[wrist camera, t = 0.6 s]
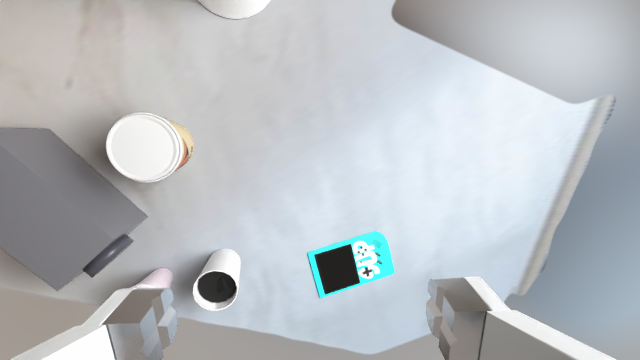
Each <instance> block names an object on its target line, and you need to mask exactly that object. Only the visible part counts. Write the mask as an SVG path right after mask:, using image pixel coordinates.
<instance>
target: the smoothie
mask: <svg viewBox="0 0 640 360" xmlns="http://www.w3.org/2000/svg"><path fill="white" fill-rule="evenodd" d="M172 281H173V274H172V273H171V271H170V270H168V269H166V268H158V269H156V270H155V271H153V272H152V273H151V274H150V275H148V276H147V277H146V278H144V279H143V280H142V281H141V282H139V283H138V284H137V285H135V286H132V287H130V288H170V286H171V283H172Z"/></svg>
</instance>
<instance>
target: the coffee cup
mask: <svg viewBox="0 0 640 360" xmlns="http://www.w3.org/2000/svg"><path fill="white" fill-rule="evenodd" d="M106 152H107V155H108V158H109V160H110V162H111V164H112V165H113V166H114V168H115V169H116V170H117V171H118V172H119V173H121V174H122V175H123V176H125V177H127V178H129V179H131V180H134V181H137V182H156V181H159V180H162V179H164V178H166V177H168V176H169V175H170V174H171V173H173V172H174V171H176V170H177V169H179V168H180V167H182V166H183V165H184V164H186V163H187V162H188V161H189V160H190V158H191V157H192V155H193V153H194V140H193V138H192V136H191V134H190V133H189V131H188V130H187V129H186V128H184V127H183V126H181V125H179V124H177V123H175V122H172V121H169V120H167V119H164V118H162V117H160V116H158V115H155V114H151V113H146V112H138V113H132V114H128V115H126V116H124V117H122V118H120V119H119V120H118V121H116V122H115V123H114V125H113V126H112V127H111V129H110V130H109V132H108V135H107V139H106Z"/></svg>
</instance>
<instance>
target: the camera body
mask: <svg viewBox="0 0 640 360" xmlns="http://www.w3.org/2000/svg"><path fill="white" fill-rule="evenodd" d="M147 217H148V216H147V215H146V214H145V213H143V212H142V211H141V210H140V209H139V208H138V207H137V206H136V205H134V204H133V203H132V202H131V201H130V200H129V199H128V198H127V197H125V196H124V195H123V194H122V193H121V192H120V191H119V190H117V189H116V188H115V187H114V186H113V185H112V184H111V183H110V182H108V181H107V180H106V179H105V178H104V177H103V176H102V175H101V174H99V173H98V172H97V171H96V170H95V169H94V168H93V167H91V166H90V165H89V164H88V163H87V162H86V161H85V160H84V159H82V158H81V157H80V156H79V155H78V154H77V153H76V152H75V151H73V150H72V149H71V148H70V147H69V146H68V145H67V144H65V143H64V142H63V141H62V140H61V139H60V138H59V137H58V136H56V135H55V134H54V133H53V132H52V131H51V130H50V129H31V128H0V248H1V249H2V250H4V251H5V252H6V253H8V254H9V255H10V256H12V257H13V258H14V259H16V260H17V261H18V262H20V263H21V264H22V265H24V266H25V267H26V268H28V269H29V270H30V271H32V272H33V273H34V274H36V275H37V276H38V277H39V278H41V279H42V280H43V281H45V282H46V283H47V284H49V285H50V286H51V287H53V288H54V289H55V290H57V291H58V290H60V289H61V288H62V287H64V286H65V285H66V284H68V283H69V282H70V281H72V280H73V279H74V278H76V277H77V276H78V275H80V274H81V273H82V272H86V273H87V274H88V275H89V276H91V277H94V276H95V275H96V274H97V273H99V272H100V271H101V270H102V269H103V268H105V267H106V266H107V265H108V264H109V263H110V262H111V261H113V260H114V259H115V258H116V257H117V256H118V255H119V254H120V253H122V252H123V251H124V250H125V249H126V248H127V247H128V246H129V245H130V244H131V243H132V242H133V240H132V239H131V238H130V237H129V236H128V234H129V233H130V232H132V231H133V230H134V229H135V228H136V227H137V226H138V225H139V224H140V223H141V222H142V221H144V220H145V219H146V218H147Z"/></svg>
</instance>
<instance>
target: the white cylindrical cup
mask: <svg viewBox="0 0 640 360" xmlns="http://www.w3.org/2000/svg"><path fill="white" fill-rule="evenodd" d="M240 265H241V261H240V257H239V256H238V254H237V253H236V252H235V251H233V250H231V249H220V250H217V251H216V252H214V253H213V254H212V255H211V257H210V258H209V260H208V262H207V264H206V265H205V267H204V269H203V270H202V272H201V274H200V275H199V277H198V279H197V280H196V282H195V284H194V287H193V295H194V298H195V301H196V302H197V303H198V304H199V305H200V306H201V307H203V308H205V309H207V310H213V311H218V310H222V309H225V308H227V307H228V306H230V305H231V304H232V303H233V302H234V300H235V299H236V297H237V293H238V286H239V276H240Z"/></svg>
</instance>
